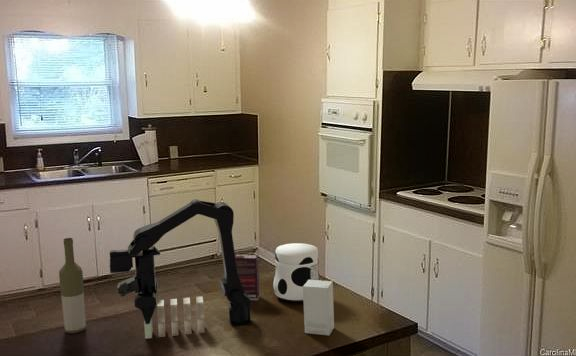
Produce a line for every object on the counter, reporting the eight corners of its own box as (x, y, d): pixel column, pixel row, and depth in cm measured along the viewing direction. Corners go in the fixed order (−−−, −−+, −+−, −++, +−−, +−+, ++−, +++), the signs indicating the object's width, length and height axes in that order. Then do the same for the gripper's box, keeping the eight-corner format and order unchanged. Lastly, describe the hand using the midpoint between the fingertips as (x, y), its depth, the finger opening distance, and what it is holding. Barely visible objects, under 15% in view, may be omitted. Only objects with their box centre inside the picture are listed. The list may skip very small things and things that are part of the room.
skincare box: (334, 328, 176) (334, 280, 174) (329, 337, 170) (329, 288, 168) (309, 324, 179) (308, 278, 177) (302, 333, 173) (302, 285, 170)
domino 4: (190, 327, 179) (189, 297, 177) (191, 333, 174) (190, 303, 172) (184, 327, 178) (183, 298, 177) (185, 334, 173) (183, 303, 172)
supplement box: (259, 296, 205) (258, 254, 202) (257, 300, 200) (256, 258, 197) (236, 295, 206) (235, 253, 203) (234, 300, 201) (232, 257, 198)
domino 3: (178, 328, 178) (176, 298, 176) (178, 335, 173) (177, 304, 171) (171, 329, 177) (170, 299, 176) (171, 335, 173) (170, 305, 171)
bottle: (76, 336, 173) (69, 242, 168) (58, 333, 176) (50, 241, 171) (91, 327, 180) (84, 237, 175) (74, 324, 182) (67, 235, 177)
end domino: (203, 325, 179) (202, 296, 178) (204, 332, 175) (203, 302, 173) (197, 326, 179) (195, 296, 178) (198, 333, 174) (196, 302, 173)
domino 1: (152, 331, 176) (150, 301, 175) (151, 337, 171) (150, 307, 170) (145, 331, 176) (144, 301, 174) (145, 338, 171) (143, 307, 169)
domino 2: (165, 329, 177) (163, 299, 175) (165, 336, 172) (163, 305, 171) (158, 330, 177) (157, 300, 175) (158, 337, 172) (157, 306, 170)
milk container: (271, 289, 211) (270, 243, 208) (316, 287, 213) (316, 241, 210) (275, 307, 194) (274, 257, 191) (324, 304, 196) (324, 254, 193)
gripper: (120, 262, 178) (123, 309, 180) (114, 281, 160) (118, 333, 162) (156, 259, 180) (158, 305, 182) (154, 278, 162) (157, 329, 164)
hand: (148, 317), depth 173 cm, fingers open, 9 cm apart
